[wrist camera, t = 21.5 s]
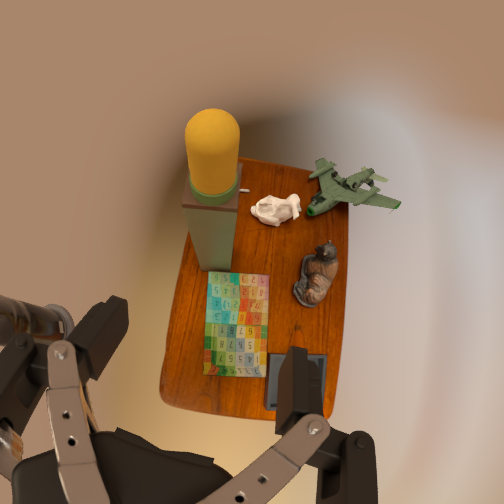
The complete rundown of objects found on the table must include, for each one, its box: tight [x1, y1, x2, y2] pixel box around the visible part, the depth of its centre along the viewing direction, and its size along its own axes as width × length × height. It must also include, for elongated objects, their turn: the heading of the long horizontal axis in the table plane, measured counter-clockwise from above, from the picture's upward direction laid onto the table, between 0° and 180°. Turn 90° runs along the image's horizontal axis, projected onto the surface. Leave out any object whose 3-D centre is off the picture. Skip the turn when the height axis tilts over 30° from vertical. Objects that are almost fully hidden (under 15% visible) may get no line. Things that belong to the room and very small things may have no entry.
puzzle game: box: [203, 271, 269, 377], centre depth 52 cm, size 12×5×20 cm
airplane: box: [307, 158, 401, 216], centre depth 64 cm, size 24×23×10 cm
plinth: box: [182, 163, 242, 272], centre depth 44 cm, size 6×6×30 cm
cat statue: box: [293, 240, 338, 307], centre depth 54 cm, size 12×7×10 cm, turn 164°
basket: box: [264, 353, 327, 410], centre depth 50 cm, size 11×11×4 cm
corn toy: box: [185, 109, 240, 206], centre depth 24 cm, size 5×5×11 cm
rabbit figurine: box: [251, 194, 302, 226], centre depth 57 cm, size 12×8×10 cm, turn 88°
